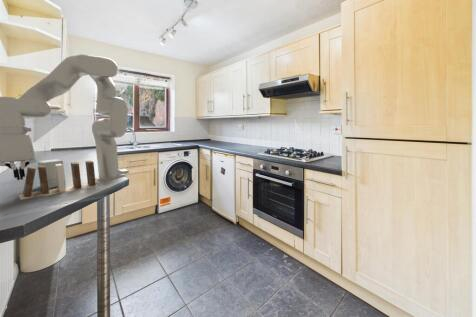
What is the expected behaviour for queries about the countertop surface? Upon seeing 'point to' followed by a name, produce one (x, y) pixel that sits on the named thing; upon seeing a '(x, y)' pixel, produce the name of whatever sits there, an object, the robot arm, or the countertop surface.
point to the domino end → (29, 181)
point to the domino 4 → (90, 173)
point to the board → (55, 191)
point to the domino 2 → (60, 177)
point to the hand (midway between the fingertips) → (20, 179)
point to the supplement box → (51, 171)
